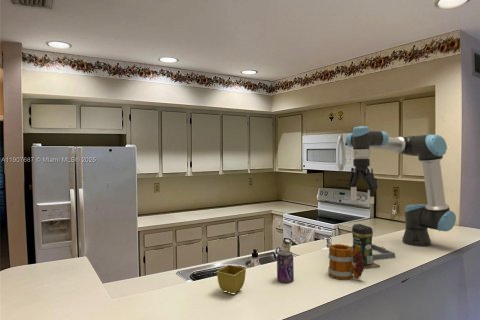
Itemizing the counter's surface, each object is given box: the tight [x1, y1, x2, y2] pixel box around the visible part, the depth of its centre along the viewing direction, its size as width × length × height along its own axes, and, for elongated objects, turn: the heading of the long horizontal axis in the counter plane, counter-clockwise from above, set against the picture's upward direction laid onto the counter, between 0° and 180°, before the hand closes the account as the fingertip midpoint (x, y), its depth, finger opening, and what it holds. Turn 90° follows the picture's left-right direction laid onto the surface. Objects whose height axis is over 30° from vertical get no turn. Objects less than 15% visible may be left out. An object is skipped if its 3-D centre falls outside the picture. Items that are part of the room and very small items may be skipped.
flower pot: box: [216, 264, 247, 294], centre depth 128 cm, size 9×9×9 cm
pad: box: [352, 260, 381, 270], centre depth 157 cm, size 11×11×1 cm
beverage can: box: [276, 250, 295, 283], centre depth 139 cm, size 7×7×12 cm
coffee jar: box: [351, 223, 374, 265], centre depth 157 cm, size 10×8×19 cm
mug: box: [327, 243, 365, 281], centre depth 142 cm, size 11×16×15 cm, turn 44°
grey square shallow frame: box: [350, 243, 396, 261], centre depth 173 cm, size 17×17×3 cm
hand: (362, 201), depth 157 cm, fingers open, 13 cm apart
